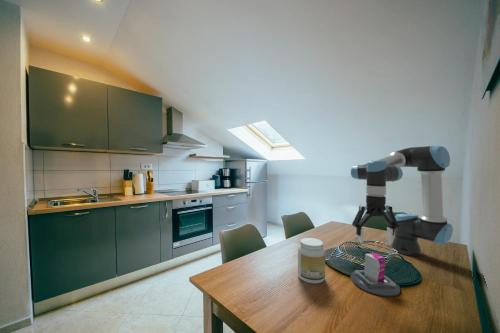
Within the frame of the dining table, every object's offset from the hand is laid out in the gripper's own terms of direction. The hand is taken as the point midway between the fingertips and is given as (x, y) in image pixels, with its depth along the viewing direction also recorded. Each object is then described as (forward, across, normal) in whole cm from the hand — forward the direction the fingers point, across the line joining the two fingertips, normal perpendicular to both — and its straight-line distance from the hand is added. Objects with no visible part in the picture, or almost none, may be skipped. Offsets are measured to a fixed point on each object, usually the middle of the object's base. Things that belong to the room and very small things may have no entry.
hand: (374, 242), depth 93 cm
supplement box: (+18, 0, 0) cm, 18 cm away
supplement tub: (+19, +27, -5) cm, 33 cm away
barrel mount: (+18, 0, 0) cm, 18 cm away
